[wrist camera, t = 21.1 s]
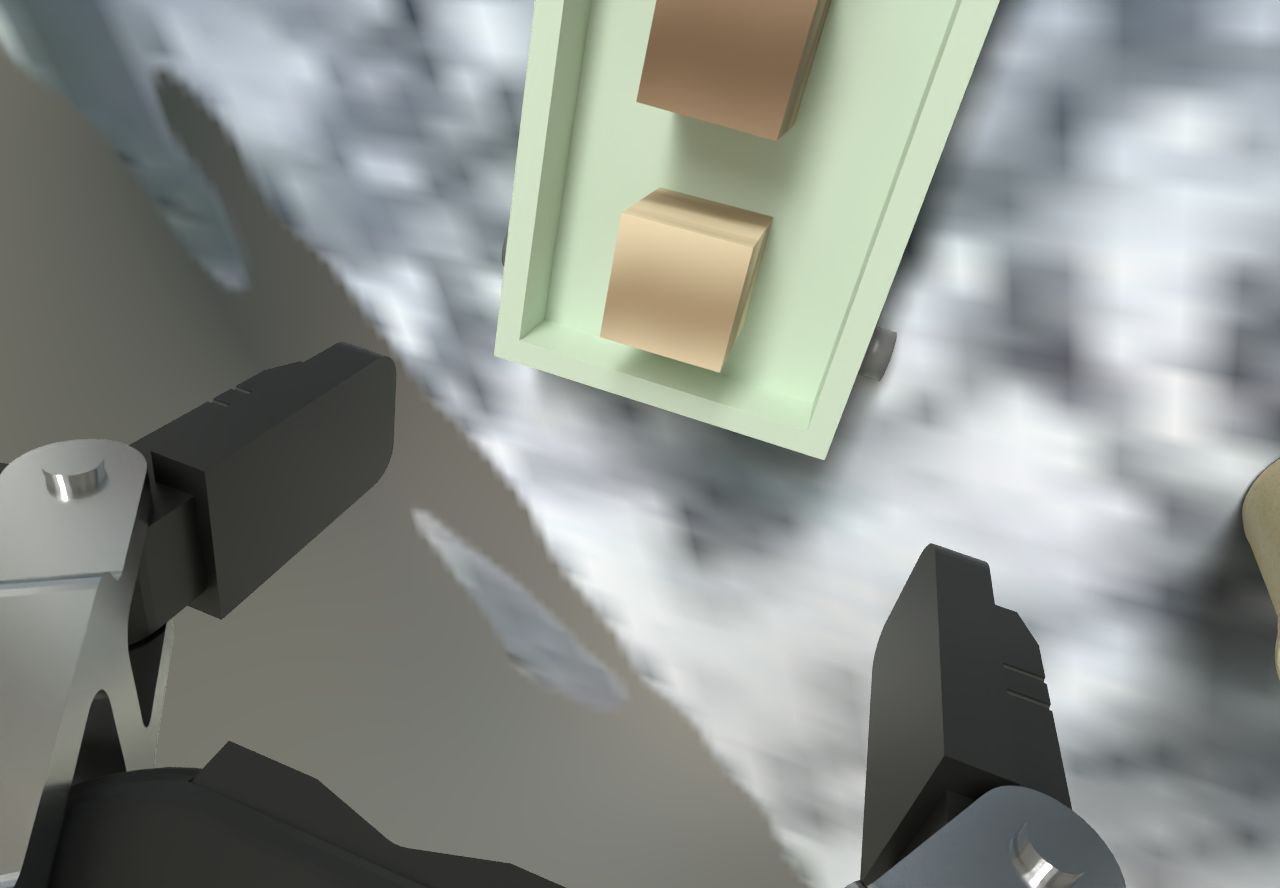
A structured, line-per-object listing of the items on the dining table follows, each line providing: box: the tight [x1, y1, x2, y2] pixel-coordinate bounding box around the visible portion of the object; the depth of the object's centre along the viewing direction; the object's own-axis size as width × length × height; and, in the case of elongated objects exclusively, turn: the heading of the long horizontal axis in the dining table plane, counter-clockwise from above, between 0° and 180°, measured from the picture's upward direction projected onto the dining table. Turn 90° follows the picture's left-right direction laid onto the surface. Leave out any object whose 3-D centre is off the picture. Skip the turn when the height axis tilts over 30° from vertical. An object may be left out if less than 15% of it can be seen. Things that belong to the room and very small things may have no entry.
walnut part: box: [636, 0, 832, 141], centre depth 25 cm, size 4×4×5 cm
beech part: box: [600, 187, 773, 373], centre depth 29 cm, size 4×4×5 cm
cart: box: [494, 0, 1000, 460], centre depth 26 cm, size 27×16×4 cm, turn 168°
